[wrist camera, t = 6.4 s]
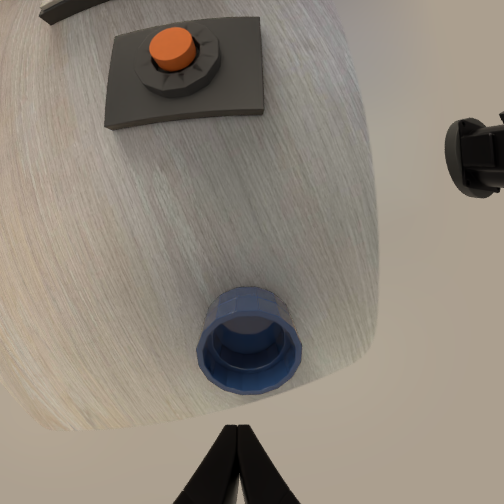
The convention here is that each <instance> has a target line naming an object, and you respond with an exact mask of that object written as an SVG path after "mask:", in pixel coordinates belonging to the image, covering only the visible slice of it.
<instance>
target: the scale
mask: <svg viewBox="0 0 504 504" xmlns="http://www.w3.org/2000/svg"><path fill="white" fill-rule="evenodd" d="M106 1H109V0H43V2H42V4H41V6H40V8H41V9H42V10H41V12H40V14H39V17H40V18H42V19H43V20H44V21H46V22H47V23H48V24H50V25H52V24H54V23H56V22H58V21H60V20H62V19H64V18H67V17H69V16H71V15H73V14H75V13H78V12H80V11H82V10H85V9H87V8H90V7H92V6H95V5H98V4H100V3H103V2H106Z"/></svg>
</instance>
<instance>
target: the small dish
mask: <svg viewBox="0 0 504 504" xmlns="http://www.w3.org/2000/svg"><path fill="white" fill-rule="evenodd" d="M196 352H197V359H198V365H199V367H200V369H201V370H202V372H203V373H204V375H205V376H206V377H207V379H208V380H209V381H210V382H212V383H213V384H215V385H216V386H218V387H219V388H221V389H222V390H224V391H228V392H232V393H235V394H239V395H257V394H263V393H266V392H269V391H272V390H274V389H277V388H279V387H280V386H282V385H283V384H284V383H285V382H287V381H288V380H289V379H290V378H292V377H293V375H294V373H295V372H296V370H297V368H298V366H299V365H300V363H301V354H302V344H301V341H300V338H299V336H298V333H297V330H296V328H295V325H294V322H293V320H292V317H291V315H290V313H289V310H288V308H287V306H286V304H285V303H284V302H283V301H282V300H281V299H280V298H278V297H277V296H276V295H275V294H274V293H272V292H270V291H267V290H264V289H261V288H258V287H238V288H235V289H232V290H230V291H228V292H225V293H223V294H221V295H220V296H219V297H218V298H217V299H216V300H215V301H214V302H213V303H212V304H211V305H210V307H209V308H208V311H207V314H206V317H205V320H204V323H203V326H202V330H201V334H200V337H199V341H198V344H197V348H196Z"/></svg>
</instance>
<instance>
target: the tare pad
mask: <svg viewBox="0 0 504 504" xmlns="http://www.w3.org/2000/svg"><path fill="white" fill-rule="evenodd" d="M173 27H179V28H183V29H186V30H187V31H188V32H189V33H190V34H191V36H192V39H193V42H194V45H195V48H196V56H195V58H194V60H193V61H192V63H191V64H190V65H188V66H187V67H185V68H184V69H181V70H178V71H166V70H163V69H161V68H160V67H159V66H158V64H157V63H156V61H155V60H154V58H153V57H152V56H151V54H150V51H149V46H150V43H151V41H152V39H153V38H154V37H155V36H156V35H157V34H158V33H160V32H161V31H163V30H165V29H168V28H173ZM263 112H264V87H263V67H262V48H261V31H260V17H225V18H211V19H201V20H192V21H184V22H177V23H171V24H166V25H161V26H155V27H151V28H146V29H142V30H138V31H134V32H130V33H126V34H122V35H119V36H116V37H115V39H114V44H113V50H112V56H111V62H110V69H109V77H108V85H107V95H106V106H105V121H104V127H106V128H108V129H110V130H117V129H122V128H127V127H132V126H138V125H144V124H151V123H157V122H165V121H172V120H181V119H190V118H201V117H215V116H233V115H263Z"/></svg>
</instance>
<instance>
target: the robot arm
mask: <svg viewBox="0 0 504 504" xmlns="http://www.w3.org/2000/svg"><path fill="white" fill-rule="evenodd" d="M499 115H500V118H501V120H502V121H503V124H504V112H502V113H500V114H499ZM462 124H463V125H462ZM458 129H459V137H460V148H461V162H462V184H463V186H464V187H465V188H471V189H478V190H484V191H489V192H495V193H499V192H500V187H501V188H504V125H498V126H491V127H485V128H484V127H482V126H479V125H476V124H474V123H471V122H468V121H466V120H459V121H458ZM239 473H240V480H241V486H242V491H243V496H244V501H245V504H300V502H299V501H298V500H297V499H296V497H295V496H294V494H293V493H292V492H291V491H290V489H289V487H288V486H287V484H286V483H285V482H284V480H283V478H282V477H281V475H280V474H279V473H278V471H277V469H276V468H275V466H274V465H273V463H272V461H271V460H270V458H269V457H268V455H267V453H266V452H265V450H264V449H263V447H262V445H261V444H260V442H259V440H258V439H257V437H256V435H255V434H254V432H253V430H252V429H251V427H250V426H249V425H238V426H237V425H225V426H224V428H223V429H222V431H221V433H220V434H219V436H218V437H217V439H216V441H215V442H214V444H213V446H212V447H211V449H210V450H209V452H208V453H207V455H206V456H205V458H204V459H203V461H202V462H201V464H200V465H199V467H198V468H197V470H196V472H195V473H194V474H193V476H192V477H191V479H190V480H189V482H188V483H187V485H186V486H185V488H184V489H183V490H184V491H182V492H181V493H180V495H179V496H178V497H177V499H176V500H175V501H174V503H173V504H236V501H237V493H238V485H239Z"/></svg>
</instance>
